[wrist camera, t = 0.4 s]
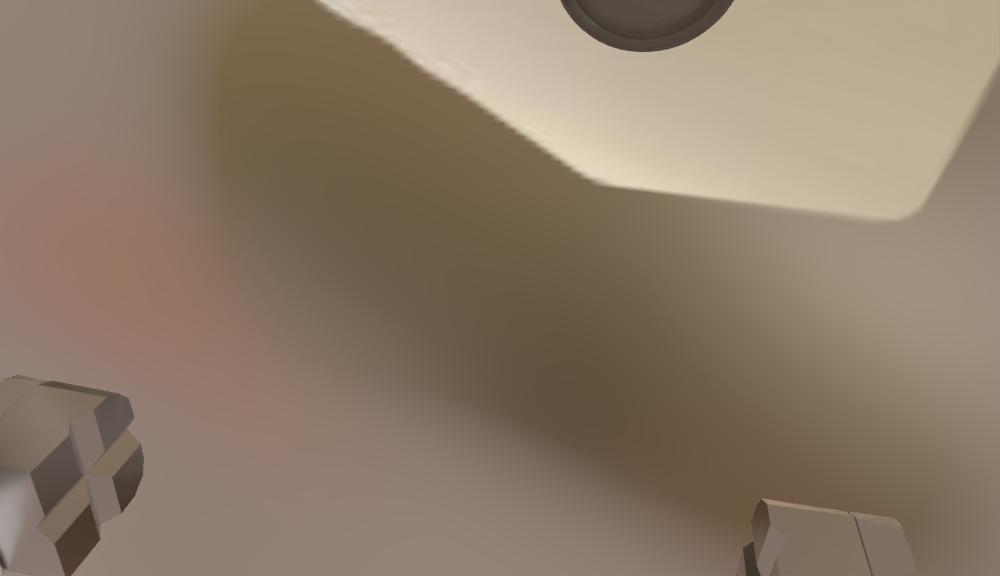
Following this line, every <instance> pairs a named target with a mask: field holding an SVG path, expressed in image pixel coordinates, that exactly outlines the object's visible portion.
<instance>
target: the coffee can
mask: <svg viewBox="0 0 1000 576" xmlns="http://www.w3.org/2000/svg"><path fill="white" fill-rule="evenodd" d="M733 1H734V0H561V3H562V5H563V7H564V8H565V10H566V11H567V13H568V14H569V15H570V17H571V18H572V19H573V21H574V22H575V23H576V24H577V25H578V26H579V27H580V28H581V29H582V30H584V31H585V32H586V33H587V34H589V35H590V36H592V37H593V38H595V39H596V40H598V41H600V42H602V43H604V44H606V45H608V46H611V47H614V48H617V49H621V50H626V51H635V52H652V51H661V50H666V49H670V48H673V47H677V46H680V45H682V44H684V43H687V42H689V41H690V40H692V39H694V38H696V37H698V36H699V35H701V34H702V33H704V32H705V31H706V30H708V29H709V28H710V27H711V26H712V25H714V24H715V23H716V22H717V21H718V20H719V19H720V18H721V17H722V16H723V15H724V13H725V12H726V11H727V10H728V8H729V7H730V6H731V4H732V2H733Z"/></svg>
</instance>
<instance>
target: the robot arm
mask: <svg viewBox="0 0 1000 576" xmlns="http://www.w3.org/2000/svg"><path fill="white" fill-rule="evenodd" d="M133 419H134V414H133V411H132V408H131V404H130V401H129V398H127V397H125V396H123V395H121V394H119V393H115V392H109V391H104V390H99V389H93V388H88V387H83V386H78V385H73V384H67V383H62V382H57V381H46V380H42V379H36V378H31V377H26V376H22V375H16V376H12V377H8V378H4V379H3V380H1V382H0V576H2V575H3V574H4V572H3V570H4V571H10V572H16V573H22V574H28V575H35V576H71V575H72V574H73V573H74V572H75V570H76V569H77V568H78V566H79V565H80V564H81V563H82V562H83V560H84V559H85V558H86V557H87V556H88V554H89V553H90V552H91V551H92V549H93V548H94V547H95V546H96V544H97V543H98V542H99V541H100V524H102V523H104V522H106V521H108V520H110V519H112V518H113V517H115V516H117V515H119V514H121V513H122V512H123V511H124V509H125V508H126V507H127V506H128V504H129V503H130V502H131V500H132V499H133V498H134V496H135V494H136V491H137V489H138V486H139V484H140V481H141V479H142V476H143V464H144V457H143V452H142V447H141V444H140V443H139V442H138V440H137V439H135V437H134V436H133V435H132V434H131V433H130V432H129V431H128V430H127V428H128V427H129V425H130V424H131V422H132V421H133ZM751 525H752V533H753V542H751V543H749V544H748V545H746V546H745V547H743V549H742V553H741V556H740V560H739V563H738V567H737V575H736V576H920V575H919V572H918V569H917V567H916V564H915V561H914V559H913V556H912V553H911V551H910V548H909V545H908V543H907V540H906V537H905V535H904V532H903V530H902V527H901V525H900V524H899V523H898V522H897V521H896V520H895V519H894V518H888V517H881V516H875V515H868V514H861V513H854V512H848V513H847V512H844V511H838V510H832V509H826V508H819V507H813V506H806V505H800V504H794V503H787V502H780V501H774V500H767V499H760V501H759V503H758V504H757V506H756V508H755V511H754V514H753V517H752V520H751Z"/></svg>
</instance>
